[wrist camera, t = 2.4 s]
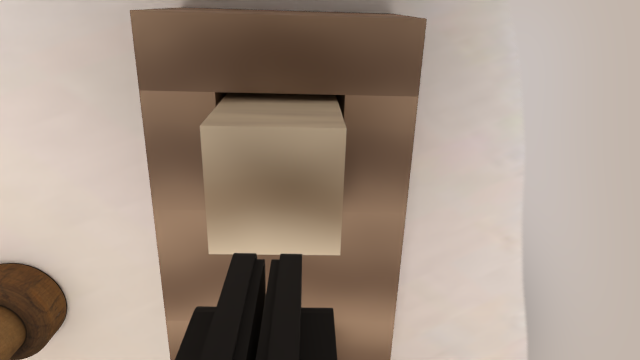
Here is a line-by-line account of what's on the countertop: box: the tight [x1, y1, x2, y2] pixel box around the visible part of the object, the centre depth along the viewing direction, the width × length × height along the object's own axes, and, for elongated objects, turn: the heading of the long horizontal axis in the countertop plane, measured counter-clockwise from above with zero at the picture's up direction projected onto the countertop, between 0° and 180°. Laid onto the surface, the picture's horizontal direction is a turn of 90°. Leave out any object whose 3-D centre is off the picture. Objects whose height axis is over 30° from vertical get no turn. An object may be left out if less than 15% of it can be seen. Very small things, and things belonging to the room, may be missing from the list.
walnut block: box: [130, 8, 427, 360], centre depth 27 cm, size 24×12×8 cm, turn 178°
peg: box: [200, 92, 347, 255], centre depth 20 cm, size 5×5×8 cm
